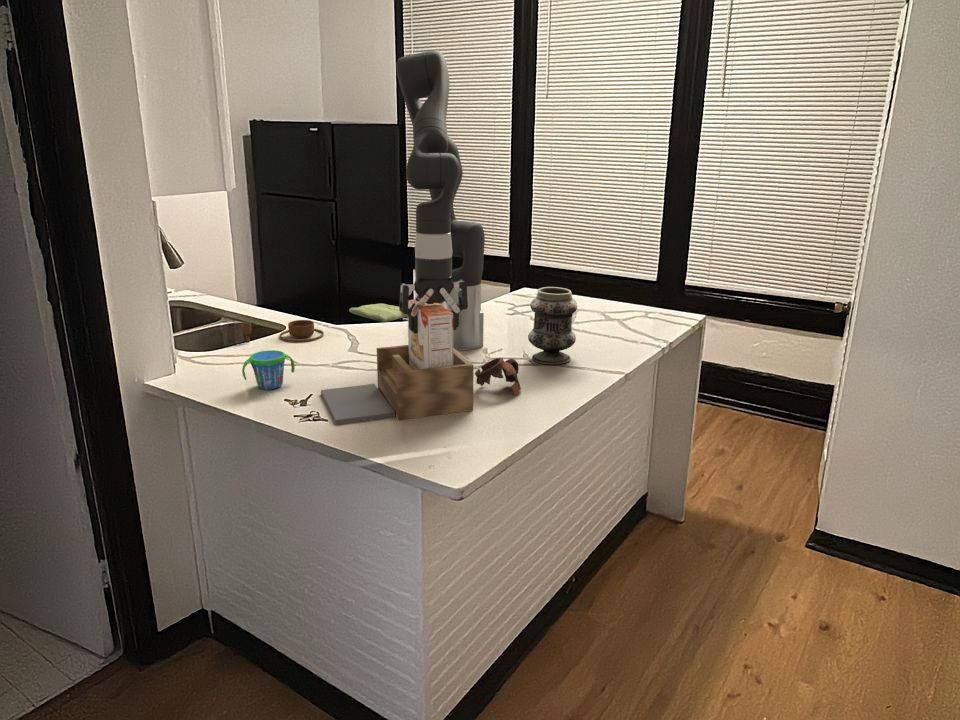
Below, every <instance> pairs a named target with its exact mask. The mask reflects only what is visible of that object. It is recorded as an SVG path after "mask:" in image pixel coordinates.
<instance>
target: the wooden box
mask: <svg viewBox="0 0 960 720" xmlns="http://www.w3.org/2000/svg"><path fill="white" fill-rule="evenodd" d="M392 355H400V356H401V358H402V359H403V360H404V361H405V362H406V363H407V364H408V365H409V345H408V344H404V345H403V344H402V345H394V346H393V345H391V346H385V347H384V346H383V347H376V368H377V369H376V370H377V371H376V372H377V388H378V389H379V391H380V392H381V394H382V395H383V396H384V398H385V399H386V401H387V402H388V403H389V405H390V406H391V408H392V409H393V410H394V412H395V417H396V418H397V420H398V421H403V420H411V419H418V418H424V417H433V416H439V415H448V414H454V413H462V412H469V411H470V412H471V411H474V364H473V363H472V362H470V360H468V359H467V358H466V357H465V356H464V355H463V354H461V353H460V352H459V350H456V349H454V348H453V366H444V367H435V368H426V369H417V370H409V371H400V372H396V379H397V387H396V385H395V384H394V383H393V382H392V380H391V379H390V378H389V376H388V375H387V374H386V369H390V368H392Z"/></svg>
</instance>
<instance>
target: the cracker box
mask: <svg viewBox="0 0 960 720" xmlns="http://www.w3.org/2000/svg"><path fill="white" fill-rule="evenodd" d="M414 299H415V298H413V299H409V300H408V308H410V306H411V305H412V303H413V301H414ZM416 316H417V319H418V333H416V334H414V333H413V332H412V331H411V330H410V329H409V315H408V317H407V337H408V342H407V343H408V344H407V345H409V366H410V367H411V368H412V369H413V370H417V369H426V368H435V367H444V366H453V313H451V312H450V311H448V310H447V309H446V308H444V307H443V306H441V305H440V304H438V303H433V304H427V303H425V305H424V306H423V307H422V308H421V309H419V312H418V313H417V314H416Z"/></svg>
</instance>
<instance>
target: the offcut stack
mask: <svg viewBox="0 0 960 720" xmlns="http://www.w3.org/2000/svg"><path fill="white" fill-rule="evenodd" d="M409 370H413V369H412V368H411V367H410V366H409V365H408V364H407V363H406V362H405V361H404V360H403V359H402V358H401V356H400V355H392V368H390V369H386V374H387V375H388V376H389V378H390V379H391V380H392V382H393V383H394V384H395V385H396V387H397V379H396V372H400V371H409Z"/></svg>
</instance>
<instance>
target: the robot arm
mask: <svg viewBox="0 0 960 720" xmlns="http://www.w3.org/2000/svg"><path fill="white" fill-rule="evenodd" d="M395 66H396V67H395V69H396V75H397V79H398V83H399V86H400V90H401V93H402V96H403V97H402V98H403V99H404V103H405V106H406V109H407V112H408V115H409V118H410V122H411V124H412V137H413V138H412V139H413V147H412V149H411V152H410V155H409V157H408V160H407V164H406V168H405V177H406V180H407V183H408V184H409V185H410V186H411V187H412V188H413V189H414V190H419V191H420V190H422V191H423V190H424V191H427V190H428V191H429V194H430V195H429V196H430V198H431V200H429V201H423V202H420V203H419V204H417V205H416V207H415V208H416V209H415V231H416V233H415V240H414V241H415V243H414V254H415V256H414V261H415V262H414V263H415V264H414V265H415V266H414V267H415V269H414V270H415V274H414V275H415V281H414V283H413V284H406V283H401V284H400V286H399V306H398V307H399V310H400V311H401V312H402V313H403V314H407V315H409V329H410V330H411V331H412V332H413V333H414V334H416V333H418V319H417V316H416V314H417V313H418V312H419V309H421V308H422V307H423V306H424V305H425V303H427V304H433V303H439V304H440V303H442V302H444V301H445V304H446V308H447V310H448V311H450V312H451V313H453V348H454V349H455V350H457V351H471V350H476V349H478V348H481V347H484V325H485V324H484V321H485V320H484V316H485V315H484V312H483V311H482V277H483V273H484V272H483V271H484V259H485V258H484V257H485V256H484V255H485V245H486V244H485V242H486V239H485V230H484V227H483V225H482V224H481V223H480V222H475V221H465V220H457V218H456V214H455V211H454V209H455V208H454V203H455V202H454V200H455V197H456V195H457V192H458V190H459V188H460V186H461V182H462V178H463V175H464V173H463V171H464V170H463V166H462V161H461V157H460V153H459V148H458V146H457V144H456V142H455V141H454V140H453V139H452V138H451V136H450V135H448V127H447V115H448V106H449V95H450V94H449V92H450V74H449V68H448V65H447V61H446V58H445V57H444V54H443V52H441V51H440V50H437V49H436V50H435V49H434V50H427V51H421V52H417V53H414V54H408V55H405V56H401V57H399V58H398V59H397V60H396V65H395ZM424 98H426V100H425V101H424V102H423V103H422V102H421V100H420V99H424ZM453 257H457V258H463V261H462V265H461V266H460V267H458V268H455V269H453ZM413 291H415V293H416V294H417V295H416V296H415V297H414V298H413V299H414V301H413V303H412V305H411V306H410V308H408V300H410V299H409V297H410V296H411V295H412V292H413Z"/></svg>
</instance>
